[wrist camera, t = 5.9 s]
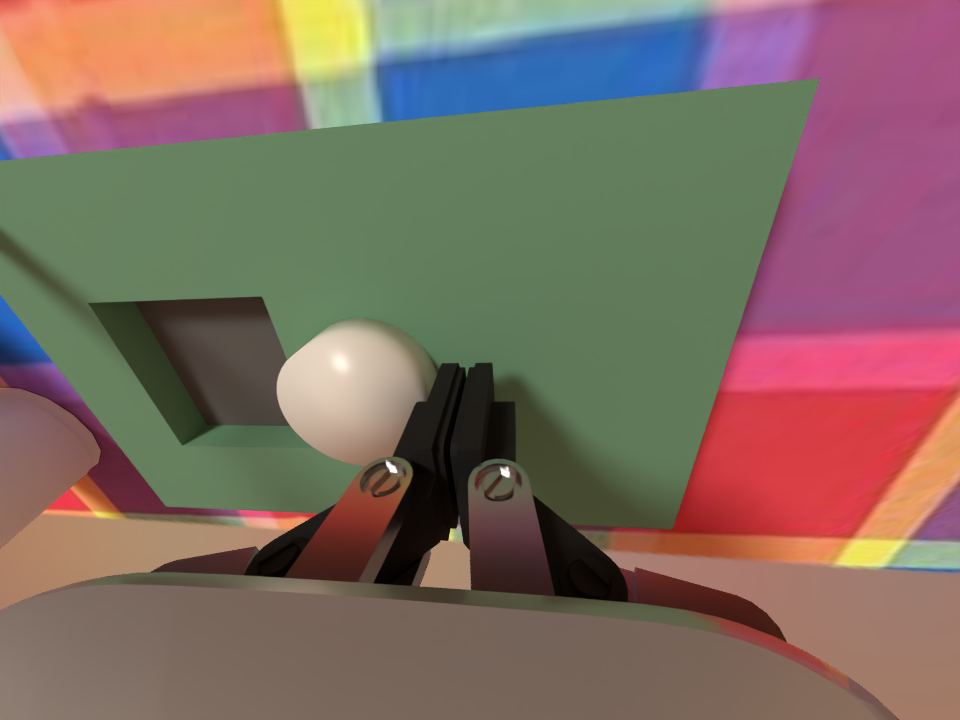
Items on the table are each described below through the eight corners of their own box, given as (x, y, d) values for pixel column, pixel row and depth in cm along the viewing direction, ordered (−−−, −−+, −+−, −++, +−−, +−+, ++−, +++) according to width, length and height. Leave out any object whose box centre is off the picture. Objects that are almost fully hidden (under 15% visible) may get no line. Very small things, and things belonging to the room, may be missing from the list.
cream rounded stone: (424, 312, 11) (407, 338, 10) (448, 428, 14) (438, 465, 12) (289, 322, 12) (250, 348, 10) (334, 430, 14) (308, 466, 13)
